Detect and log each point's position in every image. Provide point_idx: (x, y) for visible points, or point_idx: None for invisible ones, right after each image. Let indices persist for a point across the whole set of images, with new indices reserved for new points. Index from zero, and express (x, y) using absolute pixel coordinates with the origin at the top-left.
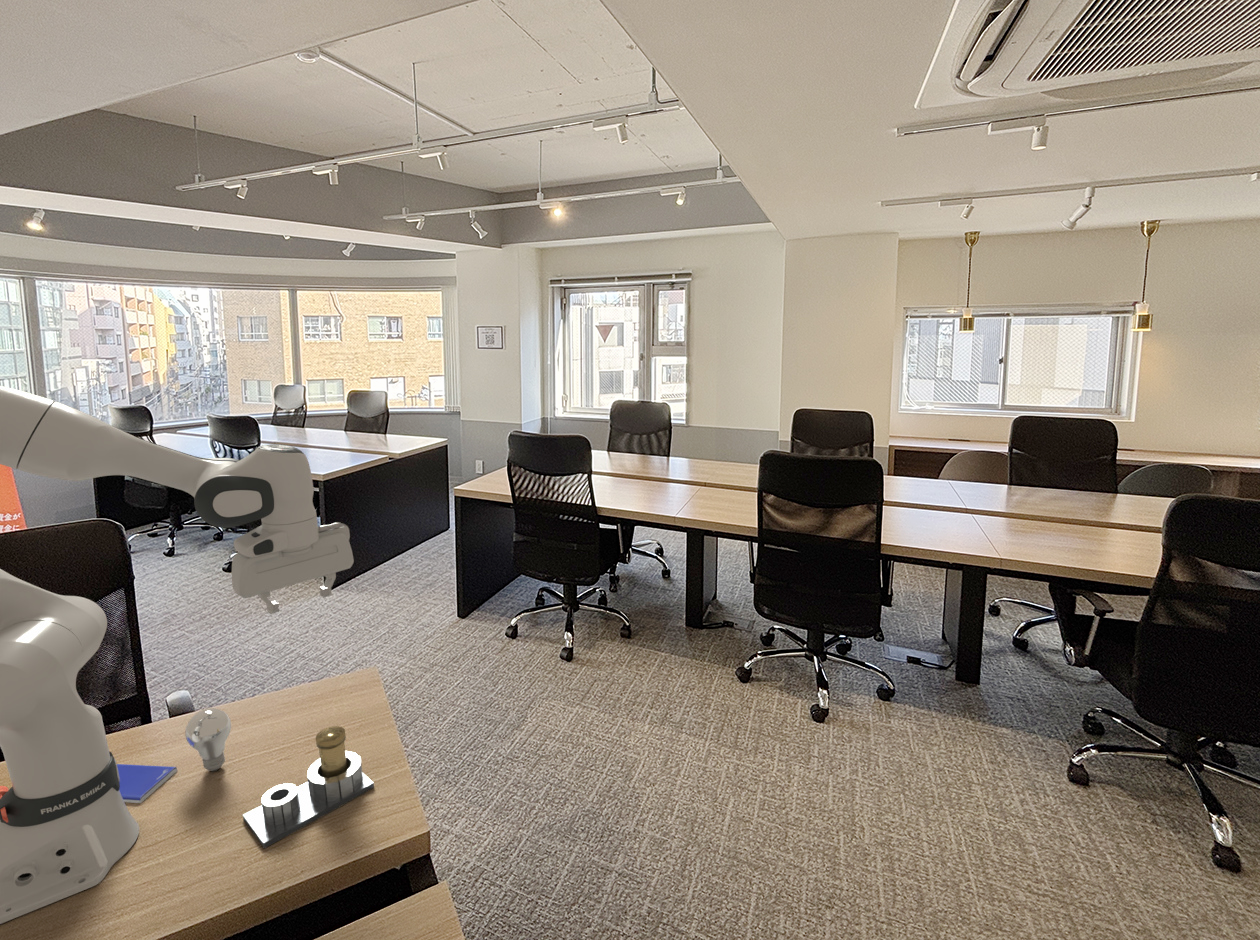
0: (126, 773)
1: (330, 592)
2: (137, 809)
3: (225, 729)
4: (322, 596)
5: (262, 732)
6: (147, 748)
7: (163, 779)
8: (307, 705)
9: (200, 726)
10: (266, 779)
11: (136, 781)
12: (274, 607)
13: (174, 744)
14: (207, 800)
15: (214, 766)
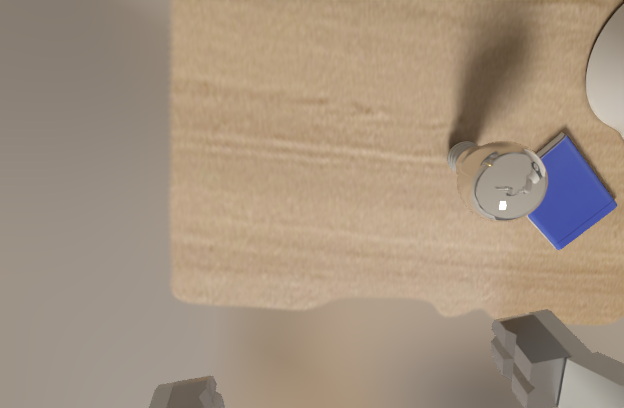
0: (557, 213)
1: (158, 400)
2: (569, 118)
3: (481, 155)
4: (216, 393)
5: (371, 213)
6: (510, 267)
7: None
8: (289, 251)
9: (537, 163)
10: (403, 64)
11: (555, 183)
12: (545, 340)
13: (480, 257)
14: (493, 69)
15: (468, 142)
